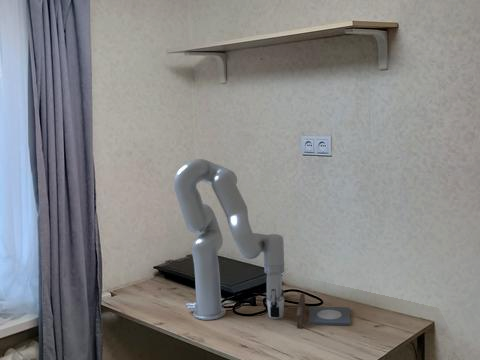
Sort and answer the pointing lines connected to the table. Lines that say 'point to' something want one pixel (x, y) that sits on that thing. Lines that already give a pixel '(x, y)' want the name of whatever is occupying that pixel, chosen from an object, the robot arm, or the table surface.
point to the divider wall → (300, 310)
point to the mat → (329, 316)
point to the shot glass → (280, 305)
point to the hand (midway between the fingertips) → (276, 312)
